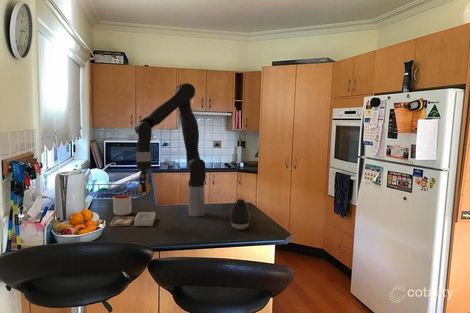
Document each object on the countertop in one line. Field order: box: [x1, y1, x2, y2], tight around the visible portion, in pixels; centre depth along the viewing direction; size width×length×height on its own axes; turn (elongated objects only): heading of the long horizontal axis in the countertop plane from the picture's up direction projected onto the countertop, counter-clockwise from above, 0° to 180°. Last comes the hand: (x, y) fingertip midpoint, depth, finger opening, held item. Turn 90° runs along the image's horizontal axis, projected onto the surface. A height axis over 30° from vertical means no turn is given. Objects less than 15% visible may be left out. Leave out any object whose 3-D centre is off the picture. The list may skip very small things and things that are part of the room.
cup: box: [112, 194, 133, 217], centre depth 193 cm, size 10×10×10 cm
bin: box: [133, 211, 156, 227], centre depth 178 cm, size 9×14×4 cm
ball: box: [138, 182, 151, 194], centre depth 176 cm, size 6×6×6 cm
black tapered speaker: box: [229, 198, 251, 231], centre depth 168 cm, size 10×10×15 cm
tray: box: [109, 216, 135, 227], centre depth 176 cm, size 10×12×2 cm
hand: (144, 191), depth 176 cm, fingers closed on ball, 6 cm apart
